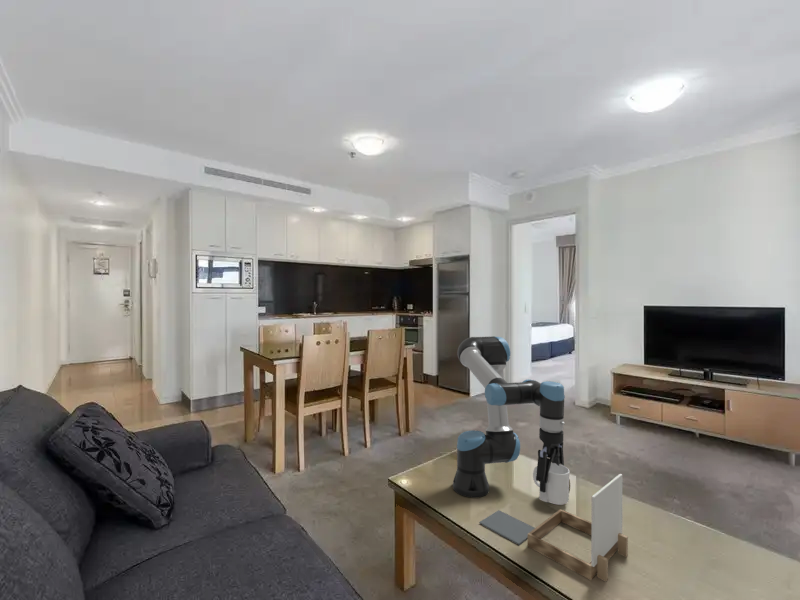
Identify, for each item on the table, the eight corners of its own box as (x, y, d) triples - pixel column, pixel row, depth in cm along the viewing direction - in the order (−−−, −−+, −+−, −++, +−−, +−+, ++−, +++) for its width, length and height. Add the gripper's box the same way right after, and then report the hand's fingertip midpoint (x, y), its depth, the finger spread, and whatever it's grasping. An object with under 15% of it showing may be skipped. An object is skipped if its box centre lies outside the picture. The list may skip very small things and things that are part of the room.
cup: (562, 508, 122) (563, 477, 121) (527, 493, 130) (527, 464, 130) (572, 498, 127) (573, 468, 127) (538, 485, 136) (538, 457, 136)
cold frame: (527, 546, 124) (527, 534, 124) (560, 520, 139) (560, 509, 139) (590, 580, 109) (590, 566, 109) (620, 546, 124) (620, 534, 124)
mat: (479, 523, 137) (479, 522, 137) (498, 511, 145) (498, 510, 145) (519, 545, 125) (519, 543, 125) (537, 530, 133) (537, 529, 133)
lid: (591, 579, 110) (591, 496, 110) (619, 547, 124) (620, 473, 124) (602, 585, 107) (603, 500, 107) (630, 552, 122) (630, 476, 122)
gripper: (547, 440, 118) (546, 512, 119) (575, 424, 133) (574, 488, 133) (525, 433, 124) (523, 502, 124) (554, 419, 138) (553, 480, 139)
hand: (550, 495), depth 129 cm, fingers closed on cup, 8 cm apart
